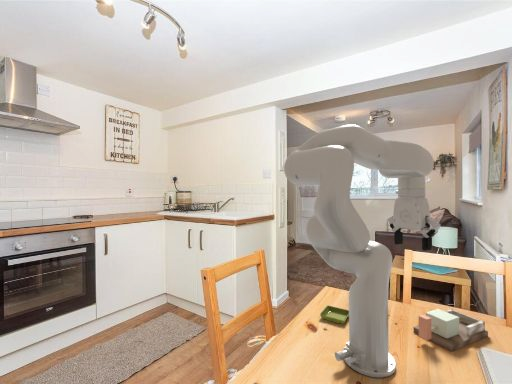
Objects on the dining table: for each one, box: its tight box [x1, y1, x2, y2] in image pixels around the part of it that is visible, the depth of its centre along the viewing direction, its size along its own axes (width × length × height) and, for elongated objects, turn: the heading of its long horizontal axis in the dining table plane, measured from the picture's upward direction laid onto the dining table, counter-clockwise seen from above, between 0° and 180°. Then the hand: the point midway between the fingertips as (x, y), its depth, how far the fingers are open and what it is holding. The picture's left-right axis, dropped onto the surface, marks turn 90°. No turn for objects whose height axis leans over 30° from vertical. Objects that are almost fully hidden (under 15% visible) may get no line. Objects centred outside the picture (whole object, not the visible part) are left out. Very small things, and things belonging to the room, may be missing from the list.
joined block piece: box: [418, 308, 459, 341], centre depth 77 cm, size 12×6×6 cm, turn 113°
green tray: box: [319, 305, 349, 325], centre depth 91 cm, size 9×9×2 cm
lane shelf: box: [413, 308, 489, 352], centre depth 80 cm, size 18×11×4 cm, turn 113°
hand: (411, 246), depth 83 cm, fingers open, 9 cm apart
